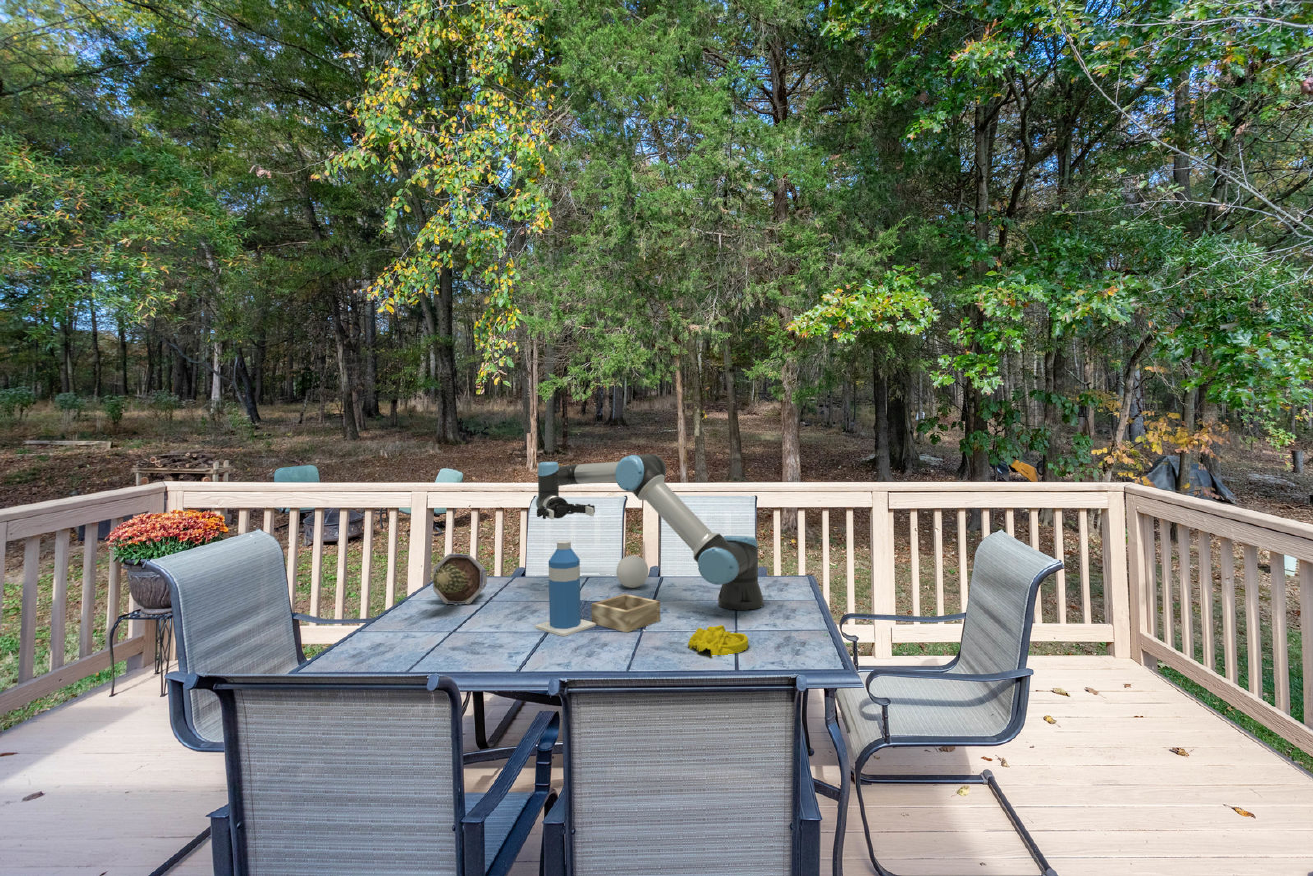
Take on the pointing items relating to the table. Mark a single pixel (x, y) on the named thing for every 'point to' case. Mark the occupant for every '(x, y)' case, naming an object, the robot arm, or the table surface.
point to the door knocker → (718, 641)
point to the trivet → (565, 632)
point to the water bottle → (564, 587)
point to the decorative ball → (632, 571)
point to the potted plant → (459, 579)
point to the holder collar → (625, 612)
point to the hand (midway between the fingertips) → (573, 513)
